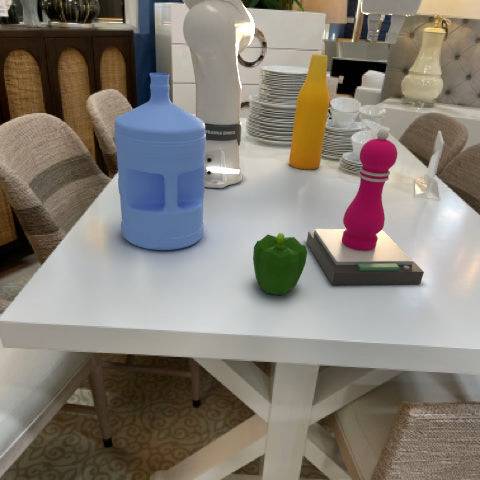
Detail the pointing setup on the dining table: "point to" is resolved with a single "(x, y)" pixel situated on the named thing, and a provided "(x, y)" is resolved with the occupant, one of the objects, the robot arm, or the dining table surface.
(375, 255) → the scale
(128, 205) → the water jug
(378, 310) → the dining table surface
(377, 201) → the pepper mill
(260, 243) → the bell pepper
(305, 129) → the beer bottle
